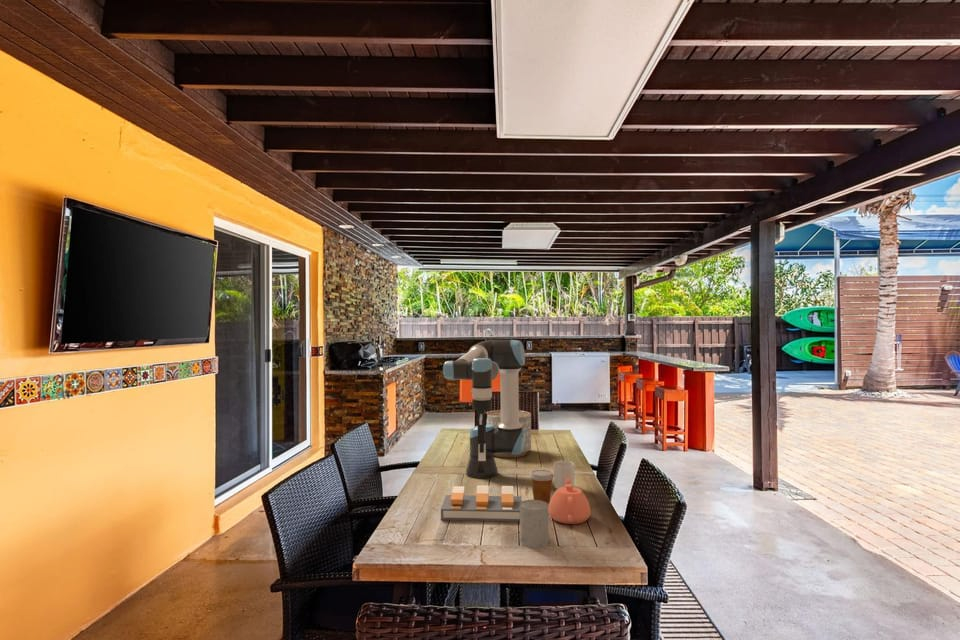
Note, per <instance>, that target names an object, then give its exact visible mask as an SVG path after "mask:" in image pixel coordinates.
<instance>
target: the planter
mask: <svg viewBox="0 0 960 640" xmlns="http://www.w3.org/2000/svg"><path fill="white" fill-rule="evenodd" d="M486 413H487V424H491V425H494V428H498V424H499V423H500V422H501V409H496V410H490V411H489V410H488V411H487V412H486ZM519 423H520V424H521V425H522V430H523V429H524V430H525V431H526V437H525V444H524V448H523V451H522V453H521V454H513V455H511V454H500V453H494V457H499V458H519V457H524V456H526V455H527V452H529V451H531V449H532V413H531V412H529V411H526V410H521V409H519Z"/></svg>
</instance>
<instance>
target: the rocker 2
mask: <svg viewBox="0 0 960 640" xmlns="http://www.w3.org/2000/svg"><path fill="white" fill-rule="evenodd" d="M489 486H490V485H479V484H478V485H477V486H476V495H475V496H476V506H488V497H489V496H490V495H489V494H490V487H489Z"/></svg>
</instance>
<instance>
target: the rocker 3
mask: <svg viewBox="0 0 960 640" xmlns="http://www.w3.org/2000/svg"><path fill="white" fill-rule="evenodd" d="M500 496H501V507H514V501H513V496H514V486H513V485H502V486H501V495H500Z"/></svg>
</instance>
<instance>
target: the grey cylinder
mask: <svg viewBox="0 0 960 640" xmlns="http://www.w3.org/2000/svg"><path fill="white" fill-rule="evenodd" d="M548 507H549V504H548V503H546V502H544V501H541V500H534V499H527V500H525V499H524V500H522V502H521V503H520V522H519V543H520V544H521V545H523V546H524V547H527V548H531V547H532V549H535V548H536V549H538V548H543V547H546V546H548V545H549V543H550V542H549V512H548Z"/></svg>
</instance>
